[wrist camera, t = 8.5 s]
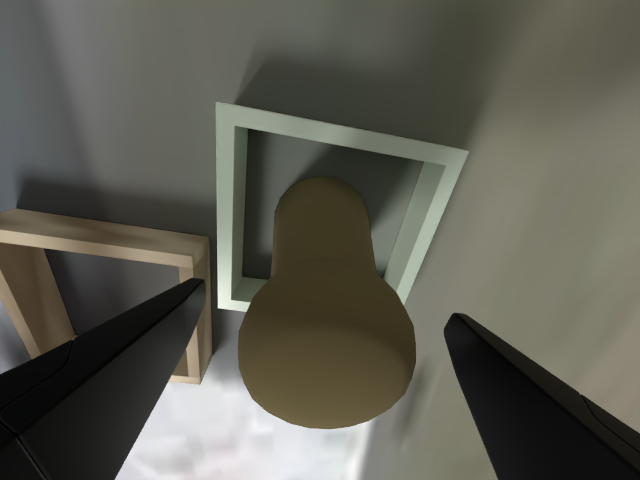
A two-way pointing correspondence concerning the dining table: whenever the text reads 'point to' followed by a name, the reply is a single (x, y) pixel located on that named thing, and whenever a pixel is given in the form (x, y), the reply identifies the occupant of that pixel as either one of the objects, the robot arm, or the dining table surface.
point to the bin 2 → (236, 120)
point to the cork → (325, 316)
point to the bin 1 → (96, 239)
